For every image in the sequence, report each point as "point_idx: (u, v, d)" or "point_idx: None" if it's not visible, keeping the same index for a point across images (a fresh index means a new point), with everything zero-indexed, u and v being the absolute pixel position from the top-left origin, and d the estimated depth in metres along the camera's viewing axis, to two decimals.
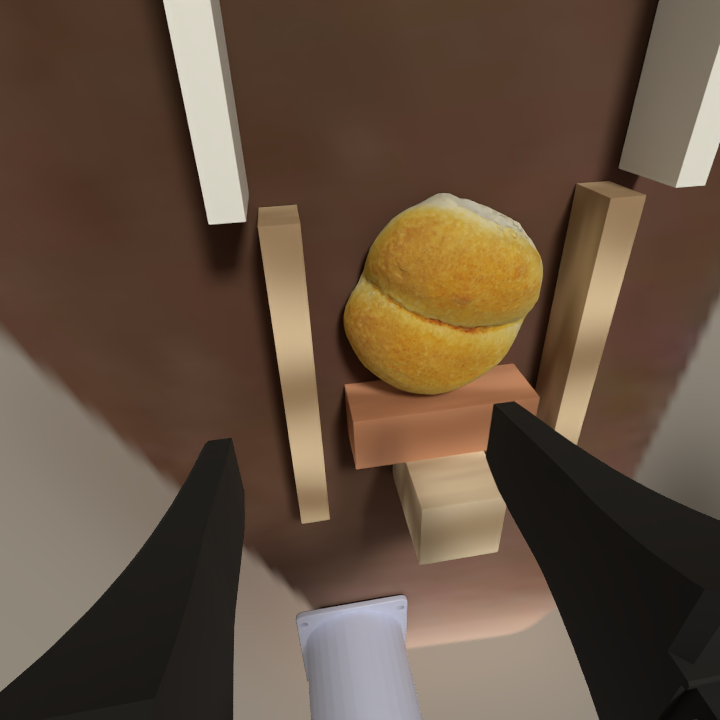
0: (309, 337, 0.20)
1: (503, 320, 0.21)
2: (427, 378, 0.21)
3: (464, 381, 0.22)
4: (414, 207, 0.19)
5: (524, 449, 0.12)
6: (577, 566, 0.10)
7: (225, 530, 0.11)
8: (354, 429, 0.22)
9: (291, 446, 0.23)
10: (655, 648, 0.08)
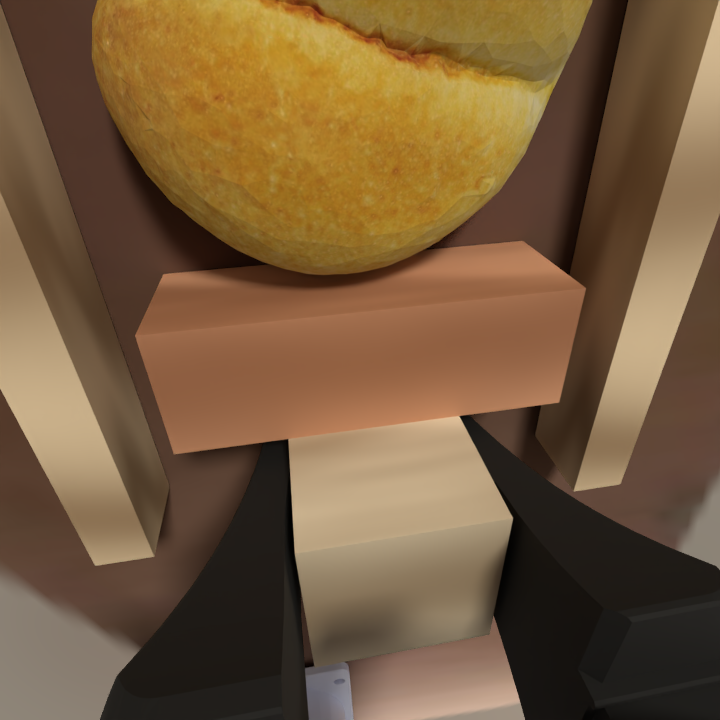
0: None
1: (501, 38, 0.08)
2: (301, 201, 0.08)
3: (406, 231, 0.09)
4: None
5: None
6: (508, 578, 0.10)
7: None
8: (144, 355, 0.09)
9: (8, 398, 0.10)
10: (568, 665, 0.08)
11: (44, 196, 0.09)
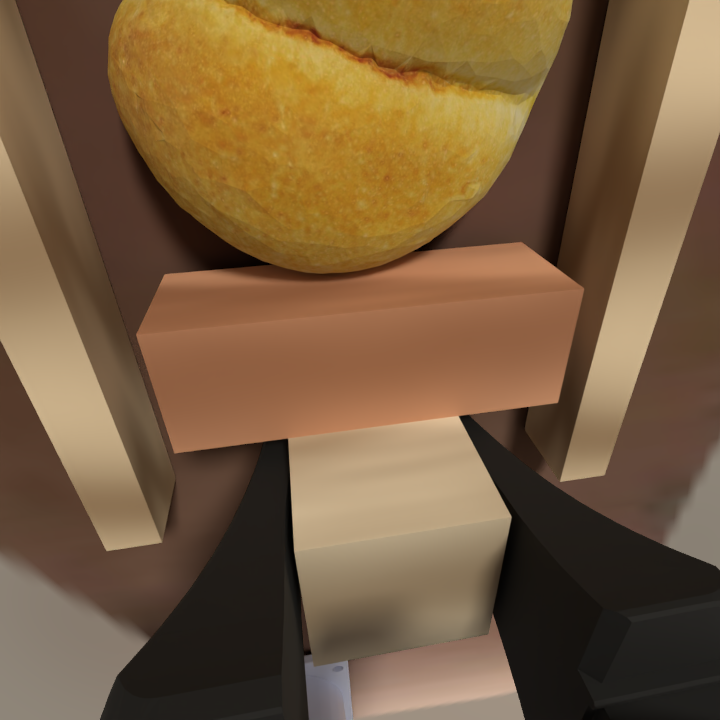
0: None
1: (484, 57, 0.08)
2: (299, 205, 0.09)
3: (397, 232, 0.10)
4: None
5: None
6: (508, 578, 0.10)
7: None
8: (145, 355, 0.09)
9: (29, 391, 0.11)
10: (568, 666, 0.08)
11: (63, 204, 0.10)
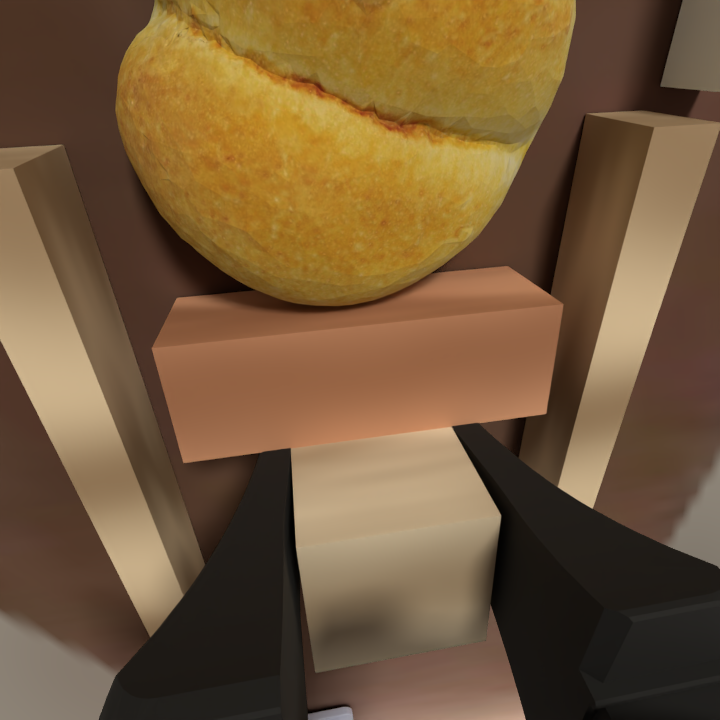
0: (97, 390, 0.11)
1: (480, 113, 0.09)
2: (298, 247, 0.09)
3: (392, 272, 0.10)
4: None
5: None
6: (508, 578, 0.10)
7: (292, 520, 0.11)
8: (159, 367, 0.10)
9: (113, 559, 0.14)
10: (569, 665, 0.08)
11: (142, 424, 0.13)
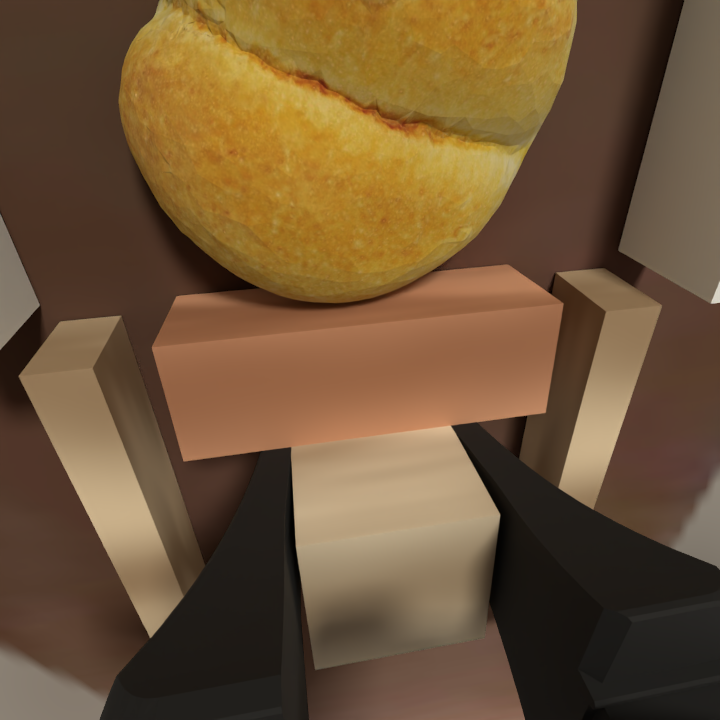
0: (147, 514, 0.13)
1: (481, 114, 0.09)
2: (298, 242, 0.09)
3: (390, 270, 0.10)
4: None
5: None
6: (508, 578, 0.10)
7: (293, 520, 0.11)
8: (159, 366, 0.10)
9: (151, 636, 0.16)
10: (568, 665, 0.08)
11: (178, 523, 0.15)
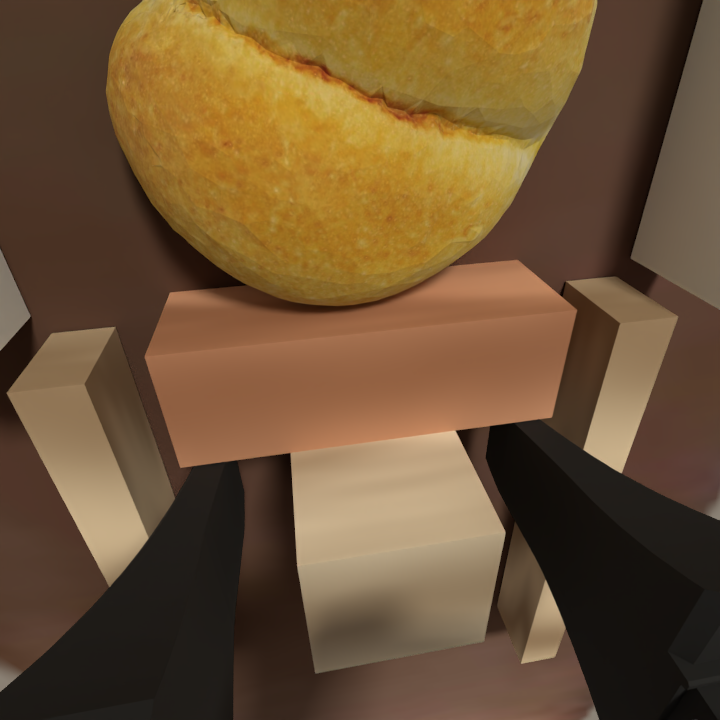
0: (142, 532, 0.13)
1: (494, 103, 0.08)
2: (298, 241, 0.08)
3: (396, 272, 0.09)
4: None
5: (524, 449, 0.12)
6: (577, 566, 0.10)
7: (225, 530, 0.11)
8: (153, 375, 0.10)
9: None
10: (655, 648, 0.08)
11: None
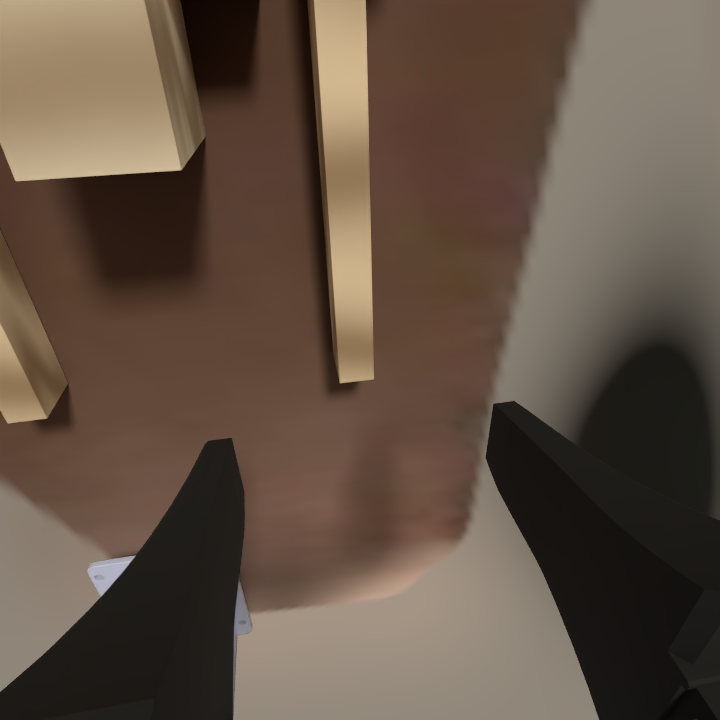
0: None
1: None
2: None
3: None
4: None
5: (524, 449, 0.12)
6: (577, 566, 0.10)
7: (225, 530, 0.11)
8: None
9: None
10: (655, 648, 0.08)
11: None
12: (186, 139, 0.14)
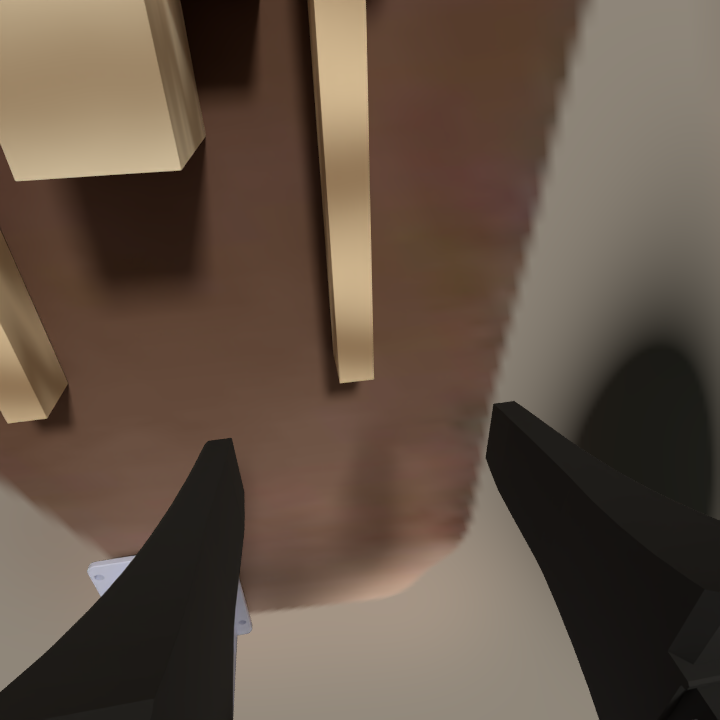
0: None
1: None
2: None
3: None
4: None
5: (524, 449, 0.12)
6: (577, 566, 0.10)
7: (225, 530, 0.11)
8: None
9: None
10: (655, 648, 0.08)
11: None
12: (186, 139, 0.14)
